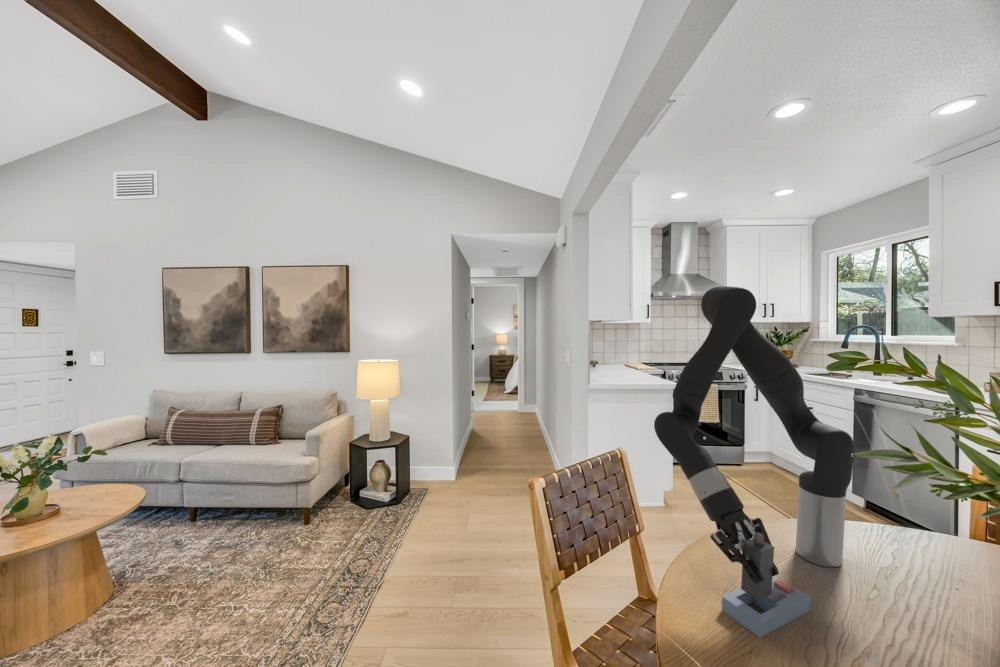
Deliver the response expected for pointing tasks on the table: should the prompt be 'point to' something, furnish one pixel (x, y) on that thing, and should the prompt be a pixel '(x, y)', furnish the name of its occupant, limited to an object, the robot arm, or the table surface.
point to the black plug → (759, 567)
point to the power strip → (767, 607)
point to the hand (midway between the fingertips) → (767, 578)
